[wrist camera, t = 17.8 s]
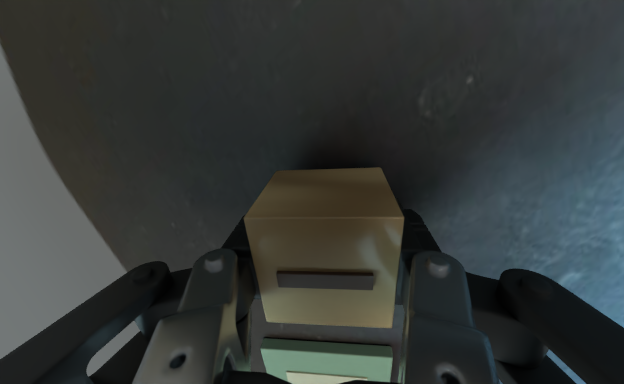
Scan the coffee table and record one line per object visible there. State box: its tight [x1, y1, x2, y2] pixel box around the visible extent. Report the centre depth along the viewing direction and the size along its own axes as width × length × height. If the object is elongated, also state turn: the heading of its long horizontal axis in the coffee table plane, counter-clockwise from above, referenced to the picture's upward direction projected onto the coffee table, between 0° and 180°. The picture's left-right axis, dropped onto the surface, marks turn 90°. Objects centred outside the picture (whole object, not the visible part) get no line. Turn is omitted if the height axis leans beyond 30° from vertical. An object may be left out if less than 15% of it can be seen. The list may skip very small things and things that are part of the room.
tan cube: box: [244, 167, 404, 328], centre depth 9 cm, size 4×4×4 cm
